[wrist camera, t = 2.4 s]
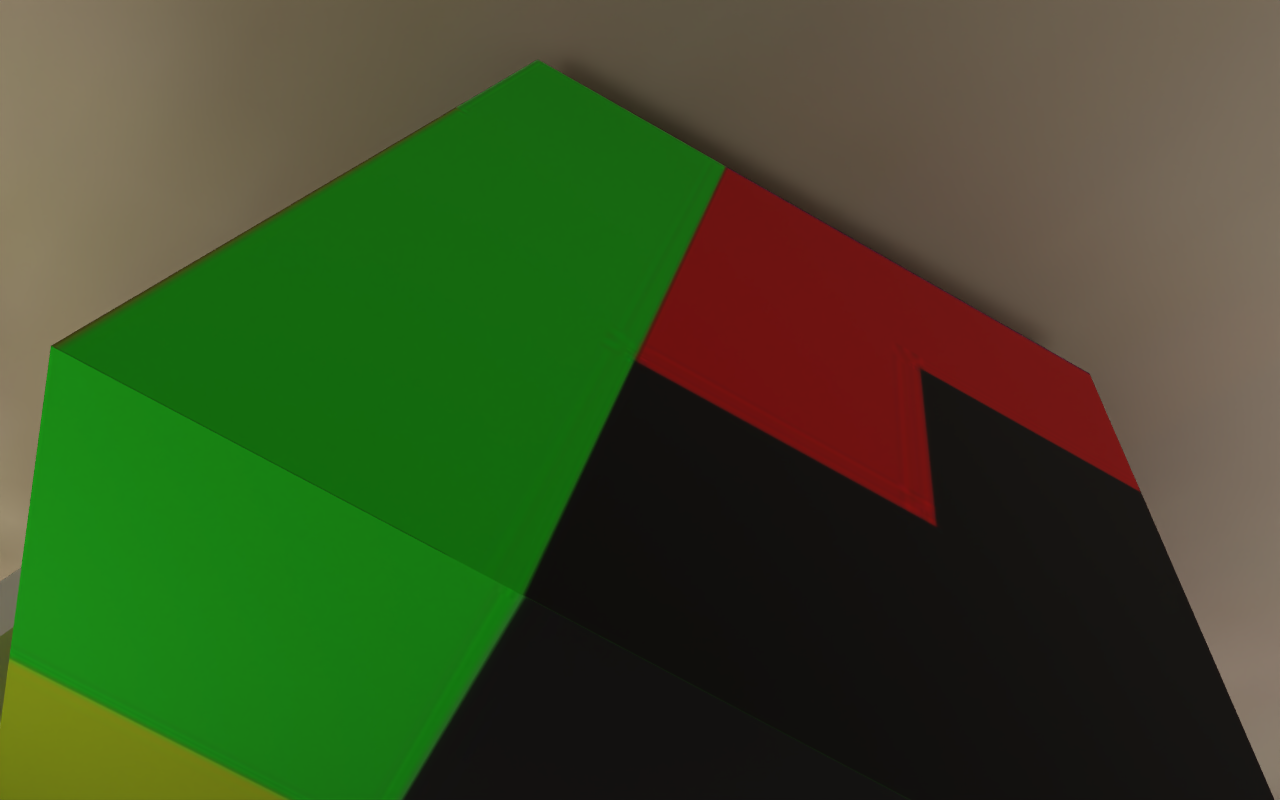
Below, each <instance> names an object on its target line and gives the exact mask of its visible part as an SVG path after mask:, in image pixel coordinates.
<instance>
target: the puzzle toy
mask: <svg viewBox="0 0 1280 800" xmlns="http://www.w3.org/2000/svg"><path fill="white" fill-rule="evenodd" d="M0 800H1274V798H1273V795H1272V793H1271V791H1270V788H1269V786H1268V784H1267V782H1266V779H1265V777H1264V775H1263V772H1262V770H1261V768H1260V765H1259V763H1258V761H1257V759H1256V756H1255V754H1254V752H1253V749H1252V747H1251V745H1250V742H1249V740H1248V738H1247V736H1246V733H1245V731H1244V729H1243V726H1242V724H1241V722H1240V719H1239V717H1238V715H1237V712H1236V710H1235V708H1234V706H1233V703H1232V701H1231V699H1230V696H1229V694H1228V692H1227V689H1226V687H1225V685H1224V683H1223V680H1222V678H1221V676H1220V673H1219V671H1218V669H1217V666H1216V664H1215V662H1214V660H1213V657H1212V655H1211V653H1210V650H1209V648H1208V646H1207V643H1206V641H1205V639H1204V636H1203V634H1202V632H1201V630H1200V627H1199V625H1198V623H1197V620H1196V618H1195V616H1194V613H1193V611H1192V609H1191V607H1190V604H1189V602H1188V600H1187V597H1186V595H1185V593H1184V590H1183V588H1182V586H1181V584H1180V581H1179V579H1178V577H1177V574H1176V572H1175V570H1174V567H1173V565H1172V563H1171V560H1170V558H1169V556H1168V554H1167V551H1166V549H1165V547H1164V544H1163V542H1162V540H1161V537H1160V535H1159V533H1158V531H1157V528H1156V526H1155V524H1154V521H1153V519H1152V517H1151V514H1150V512H1149V510H1148V508H1147V505H1146V503H1145V501H1144V498H1143V496H1142V494H1141V491H1140V489H1139V487H1138V484H1137V482H1136V480H1135V478H1134V475H1133V473H1132V471H1131V468H1130V466H1129V464H1128V461H1127V459H1126V457H1125V455H1124V452H1123V450H1122V448H1121V445H1120V443H1119V441H1118V438H1117V436H1116V434H1115V432H1114V429H1113V427H1112V425H1111V422H1110V420H1109V418H1108V415H1107V413H1106V411H1105V408H1104V406H1103V404H1102V402H1101V399H1100V397H1099V395H1098V392H1097V390H1096V388H1095V385H1094V383H1093V381H1092V379H1091V376H1090V374H1089V373H1087V372H1086V371H1084V370H1082V369H1080V368H1079V367H1077V366H1075V365H1073V364H1072V363H1070V362H1068V361H1066V360H1065V359H1063V358H1061V357H1059V356H1058V355H1056V354H1054V353H1052V352H1051V351H1049V350H1047V349H1045V348H1044V347H1042V346H1040V345H1038V344H1037V343H1035V342H1033V341H1031V340H1030V339H1028V338H1026V337H1024V336H1022V335H1021V334H1019V333H1017V332H1015V331H1014V330H1012V329H1010V328H1008V327H1007V326H1005V325H1003V324H1001V323H1000V322H998V321H996V320H994V319H993V318H991V317H989V316H987V315H986V314H984V313H982V312H980V311H979V310H977V309H975V308H973V307H972V306H970V305H968V304H966V303H965V302H963V301H961V300H959V299H958V298H956V297H954V296H952V295H951V294H949V293H947V292H945V291H943V290H942V289H940V288H938V287H936V286H935V285H933V284H931V283H929V282H928V281H926V280H924V279H922V278H921V277H919V276H917V275H915V274H914V273H912V272H910V271H908V270H907V269H905V268H903V267H901V266H900V265H898V264H896V263H894V262H893V261H891V260H889V259H887V258H886V257H884V256H882V255H880V254H879V253H877V252H875V251H873V250H871V249H870V248H868V247H866V246H864V245H863V244H861V243H859V242H857V241H856V240H854V239H852V238H850V237H849V236H847V235H845V234H843V233H842V232H840V231H838V230H836V229H835V228H833V227H831V226H829V225H828V224H826V223H824V222H822V221H821V220H819V219H817V218H815V217H814V216H812V215H810V214H808V213H807V212H805V211H803V210H801V209H800V208H798V207H796V206H794V205H792V204H791V203H789V202H787V201H785V200H784V199H782V198H780V197H778V196H777V195H775V194H773V193H771V192H770V191H768V190H766V189H764V188H763V187H761V186H759V185H757V184H756V183H754V182H752V181H750V180H749V179H747V178H745V177H743V176H742V175H740V174H738V173H736V172H735V171H733V170H731V169H729V168H728V167H726V166H724V165H722V164H720V163H719V162H717V161H715V160H713V159H712V158H710V157H708V156H706V155H705V154H703V153H701V152H699V151H698V150H696V149H694V148H692V147H691V146H689V145H687V144H685V143H684V142H682V141H680V140H678V139H677V138H675V137H673V136H671V135H670V134H668V133H666V132H664V131H663V130H661V129H659V128H657V127H656V126H654V125H652V124H650V123H649V122H647V121H645V120H643V119H641V118H640V117H638V116H636V115H634V114H633V113H631V112H629V111H627V110H626V109H624V108H622V107H620V106H619V105H617V104H615V103H613V102H612V101H610V100H608V99H606V98H605V97H603V96H601V95H599V94H598V93H596V92H594V91H592V90H591V89H589V88H587V87H585V86H584V85H582V84H580V83H578V82H577V81H575V80H573V79H571V78H570V77H568V76H566V75H564V74H562V73H561V72H559V71H557V70H555V69H554V68H552V67H550V66H548V65H547V64H545V63H543V62H541V61H540V60H536V61H534V62H532V63H531V64H529V65H527V66H526V67H524V68H522V69H521V70H519V71H517V72H515V73H514V74H512V75H510V76H509V77H507V78H505V79H504V80H502V81H500V82H499V83H497V84H495V85H493V86H492V87H490V88H488V89H487V90H485V91H483V92H482V93H480V94H478V95H476V96H475V97H473V98H471V99H470V100H468V101H466V102H465V103H463V104H461V105H459V106H458V107H456V108H454V109H453V110H451V111H449V112H448V113H446V114H444V115H442V116H441V117H439V118H437V119H436V120H434V121H432V122H431V123H429V124H427V125H426V126H424V127H422V128H420V129H419V130H417V131H415V132H414V133H412V134H410V135H409V136H407V137H405V138H403V139H402V140H400V141H398V142H397V143H395V144H393V145H392V146H390V147H388V148H386V149H385V150H383V151H381V152H380V153H378V154H376V155H375V156H373V157H371V158H369V159H368V160H366V161H364V162H363V163H361V164H359V165H358V166H356V167H354V168H352V169H351V170H349V171H347V172H346V173H344V174H342V175H341V176H339V177H337V178H336V179H334V180H332V181H330V182H329V183H327V184H325V185H324V186H322V187H320V188H319V189H317V190H315V191H313V192H312V193H310V194H308V195H307V196H305V197H303V198H302V199H300V200H298V201H296V202H295V203H293V204H291V205H290V206H288V207H286V208H285V209H283V210H281V211H279V212H278V213H276V214H274V215H273V216H271V217H269V218H268V219H266V220H264V221H262V222H261V223H259V224H257V225H256V226H254V227H252V228H251V229H249V230H247V231H246V232H244V233H242V234H240V235H239V236H237V237H235V238H234V239H232V240H230V241H229V242H227V243H225V244H223V245H222V246H220V247H218V248H217V249H215V250H213V251H212V252H210V253H208V254H206V255H205V256H203V257H201V258H200V259H198V260H196V261H195V262H193V263H191V264H189V265H188V266H186V267H184V268H183V269H181V270H179V271H178V272H176V273H174V274H172V275H171V276H169V277H167V278H166V279H164V280H162V281H161V282H159V283H157V284H156V285H154V286H152V287H150V288H149V289H147V290H145V291H144V292H142V293H140V294H139V295H137V296H135V297H133V298H132V299H130V300H128V301H127V302H125V303H123V304H122V305H120V306H118V307H116V308H115V309H113V310H111V311H110V312H108V313H106V314H105V315H103V316H101V317H99V318H98V319H96V320H94V321H93V322H91V323H89V324H88V325H86V326H84V327H83V328H81V329H79V330H77V331H76V332H74V333H72V334H71V335H69V336H67V337H66V338H64V339H62V340H60V341H59V342H57V343H55V344H54V345H52V346H51V350H50V358H49V365H48V373H47V380H46V387H45V395H44V402H43V410H42V417H41V425H40V432H39V440H38V447H37V455H36V462H35V470H34V477H33V484H32V492H31V499H30V507H29V514H28V522H27V529H26V537H25V544H24V552H23V559H22V567H21V574H20V582H19V589H18V596H17V604H16V611H15V619H14V626H13V634H12V641H11V649H10V656H9V664H8V671H7V679H6V686H5V694H4V701H3V708H2V716H1V723H0Z"/></svg>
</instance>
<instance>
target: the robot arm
mask: <svg viewBox="0 0 1280 800" xmlns="http://www.w3.org/2000/svg"><path fill="white" fill-rule="evenodd" d="M20 574H21V568H20V569H18V570H17V571H15V572H14V573H12V574H11V575H9V576H8V577H6V578H5V579H3V580H2V581H0V723H1V716H2V708H3V701H4V694H5V686H6V679H7V671H8V664H9V656H10V649H11V641H12V634H13V626H14V619H15V611H16V604H17V596H18V589H19V582H20Z"/></svg>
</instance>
